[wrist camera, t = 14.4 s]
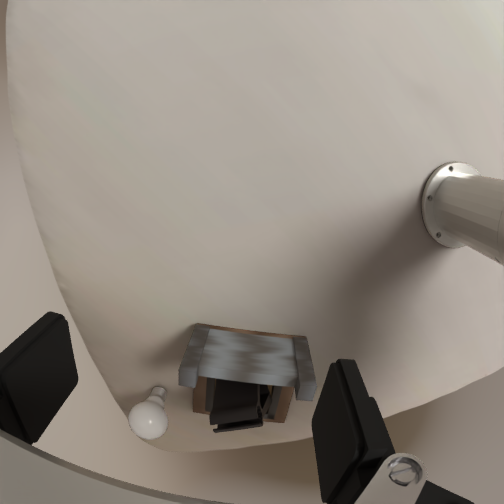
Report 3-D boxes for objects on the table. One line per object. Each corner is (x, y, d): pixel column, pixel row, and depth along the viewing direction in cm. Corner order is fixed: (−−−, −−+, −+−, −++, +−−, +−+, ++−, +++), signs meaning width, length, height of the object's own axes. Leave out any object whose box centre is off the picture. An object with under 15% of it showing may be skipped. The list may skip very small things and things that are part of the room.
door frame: (306, 334, 46) (316, 386, 34) (283, 419, 51) (286, 471, 40) (197, 320, 46) (178, 369, 34) (193, 408, 51) (180, 458, 40)
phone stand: (272, 401, 46) (268, 448, 34) (235, 407, 47) (222, 453, 35) (257, 351, 45) (249, 390, 34) (218, 358, 46) (199, 398, 34)
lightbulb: (138, 390, 51) (117, 433, 40) (151, 370, 49) (130, 414, 38) (169, 408, 51) (153, 452, 41) (184, 388, 50) (169, 435, 39)
